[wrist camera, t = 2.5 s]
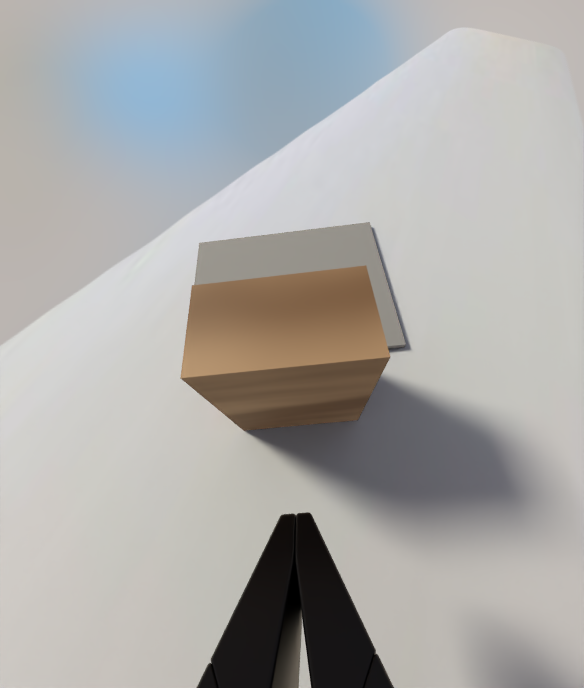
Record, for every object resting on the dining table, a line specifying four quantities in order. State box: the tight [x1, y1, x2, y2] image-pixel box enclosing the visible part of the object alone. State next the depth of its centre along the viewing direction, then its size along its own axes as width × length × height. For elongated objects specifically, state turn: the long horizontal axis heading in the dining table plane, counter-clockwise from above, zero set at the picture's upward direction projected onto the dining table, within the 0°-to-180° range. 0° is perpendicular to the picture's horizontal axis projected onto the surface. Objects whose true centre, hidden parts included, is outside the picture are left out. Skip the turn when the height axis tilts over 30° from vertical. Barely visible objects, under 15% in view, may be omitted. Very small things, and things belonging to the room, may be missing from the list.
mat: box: [194, 222, 406, 349], centre depth 22 cm, size 12×15×1 cm
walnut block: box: [181, 265, 390, 431], centre depth 14 cm, size 4×7×9 cm, turn 94°
